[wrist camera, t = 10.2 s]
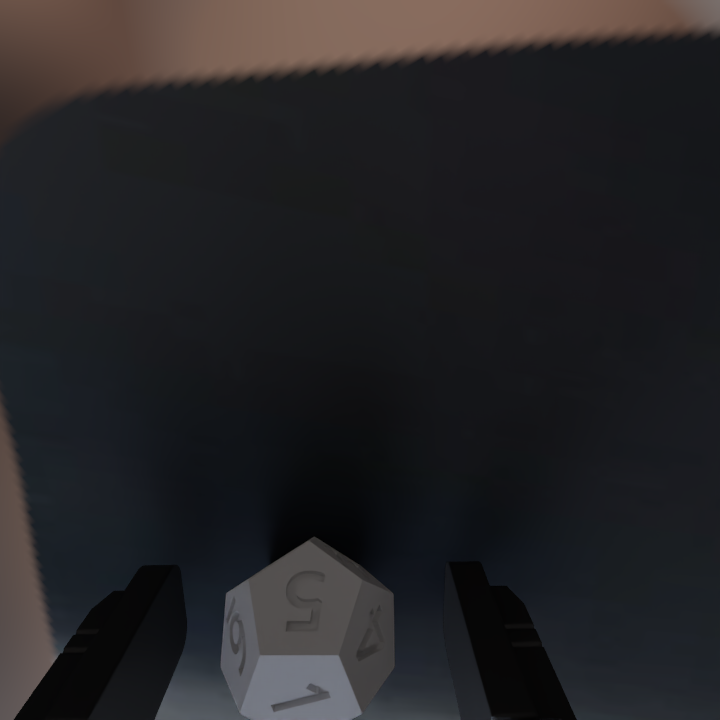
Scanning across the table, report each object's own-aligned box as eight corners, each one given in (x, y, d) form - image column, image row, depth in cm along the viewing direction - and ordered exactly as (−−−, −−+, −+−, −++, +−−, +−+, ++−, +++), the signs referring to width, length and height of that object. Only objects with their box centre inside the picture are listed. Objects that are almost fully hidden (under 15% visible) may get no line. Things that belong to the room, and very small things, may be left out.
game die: (214, 537, 11) (162, 646, 8) (367, 493, 11) (371, 590, 8) (267, 655, 12) (238, 791, 9) (410, 617, 12) (428, 746, 9)
